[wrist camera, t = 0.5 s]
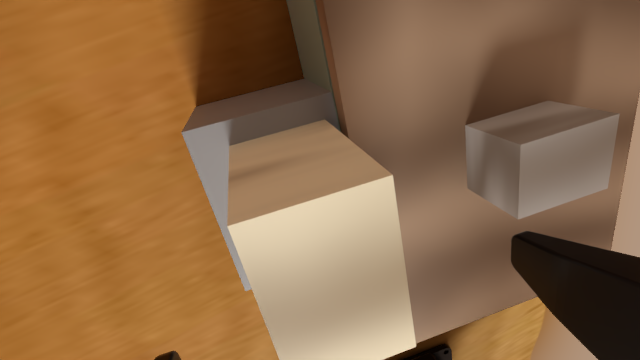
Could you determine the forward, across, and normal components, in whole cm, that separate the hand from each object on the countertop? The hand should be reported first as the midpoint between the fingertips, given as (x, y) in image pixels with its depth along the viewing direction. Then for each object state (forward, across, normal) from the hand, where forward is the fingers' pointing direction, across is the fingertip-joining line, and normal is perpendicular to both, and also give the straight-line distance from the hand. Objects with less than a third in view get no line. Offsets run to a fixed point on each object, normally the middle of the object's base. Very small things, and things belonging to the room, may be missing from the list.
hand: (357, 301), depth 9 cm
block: (+7, 0, 0) cm, 7 cm away
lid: (+7, -9, 0) cm, 11 cm away
